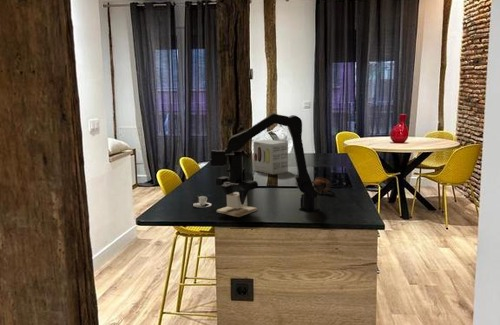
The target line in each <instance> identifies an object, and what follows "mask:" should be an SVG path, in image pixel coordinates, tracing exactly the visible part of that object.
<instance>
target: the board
mask: <svg viewBox="0 0 500 325" xmlns="http://www.w3.org/2000/svg"><path fill="white" fill-rule="evenodd" d="M256 211H258V208H257V207H254V206H248V205H247V206H244V207H241V208H238V209H237V208H232V207H227V206H224V207H221V208H218V209H216V213H219V214H223V215H228V216H232V217H236V218H240V217H243V216H245V215H246V216H247V215H248V214H251V213H255V212H256Z"/></svg>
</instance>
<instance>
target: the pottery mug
mask: <svg viewBox="0 0 500 325" xmlns="http://www.w3.org/2000/svg"><path fill="white" fill-rule="evenodd" d="M312 184H313V187H314V188H315V189H316V190H317V192H318V195H322V192H323V193H327V192H329V191H330V189H331V182H330V180H329V179H327V178H324V177H318V176H317V177H314V179H313V181H312Z"/></svg>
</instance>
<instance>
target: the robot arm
mask: <svg viewBox="0 0 500 325" xmlns="http://www.w3.org/2000/svg"><path fill="white" fill-rule="evenodd" d="M275 124H276V125H279V126H280V125H281V126H284V127H287V130H288V132H289V135H290V137H291V140H292V147H293V151H294V152H293V153H294V158H295V164H296V170H297V171H296V172H297V174H294V175H293V176H294V180H295V182H294V183H295V186H296V188H298V190H299V191H300V192H301V193H302V194H301V195H300V196H301V197H300V199H299V200H300V204H299V206H300V207H299V210H300V211H306V212H310V213H313V212H315V211H317V210H320V206H319V203H318V202H319V194H318V192H317V190H316V189H315V188H314V187H313V185H314V184H313V183H312V182H313V181H312V179H311V177H310V174H309V171H308V167H307V162H306V157H305V150H304V144H303V140H302V139H303V138H302V133H303V121H302V119H301V118H300V117H299V116H297V115H293V114H292V115H289V116H288V115H281V114H277V113H275V112H273V113H272V112H271V113H270V114H269V115H267V116H266V117H265V118H263V119H262V120H260V121H259V122H257V123H256V124H254V125H252V126H251V127H249V128H248V129H246V130H244V131H242V132H238V133H237V134H234V135H231V136H230V137H229V138H228V142H227V143H228V144H227V146H226V147H224V150H217V149H216V150H215V149H213V150H211V151H210V168H218V167H220V168H223V167H226V165H228V168H227V169H226V172H227V173H228V175H229V176H225V175H223V176H220V177H216V179H215V185H216V186H220V188H221V189H222V191H223V192H224V194H225V196H227V195H228V194H231V193H234V192H233V188H234V187H235V186H237V187H239V186H240V187H241V188H238V192H239V195H240V201H241V204H244V202H245V199H246V196H247V197H248V193H249V191H251V190H255V189H257V188H259V183H258V182H257V181H256V180H252V179H253V175H254V174H253V173H251V172H248V171H246V169H245V168H244V160H243V157H246V156H248V152H246V151H245V150H244V149H243V147H245V146H246V144H248V142H249V141H251V139H253V138H254V137H256V136H257V135H259V134H260V133H263V131H265V130H267V129H269V128H270V127H272V126H273V125H275ZM241 149H242V150H241ZM232 152H234V153H232Z"/></svg>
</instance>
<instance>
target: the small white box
mask: <svg viewBox="0 0 500 325" xmlns="http://www.w3.org/2000/svg"><path fill="white" fill-rule="evenodd" d="M244 206H248V195H247V196H246V199H245V202H244V204H241V201H240V195H239V191H234V192H233V193H231V194H228V195H226V207H232V208H237V209H238V208H241V207H244Z"/></svg>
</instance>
